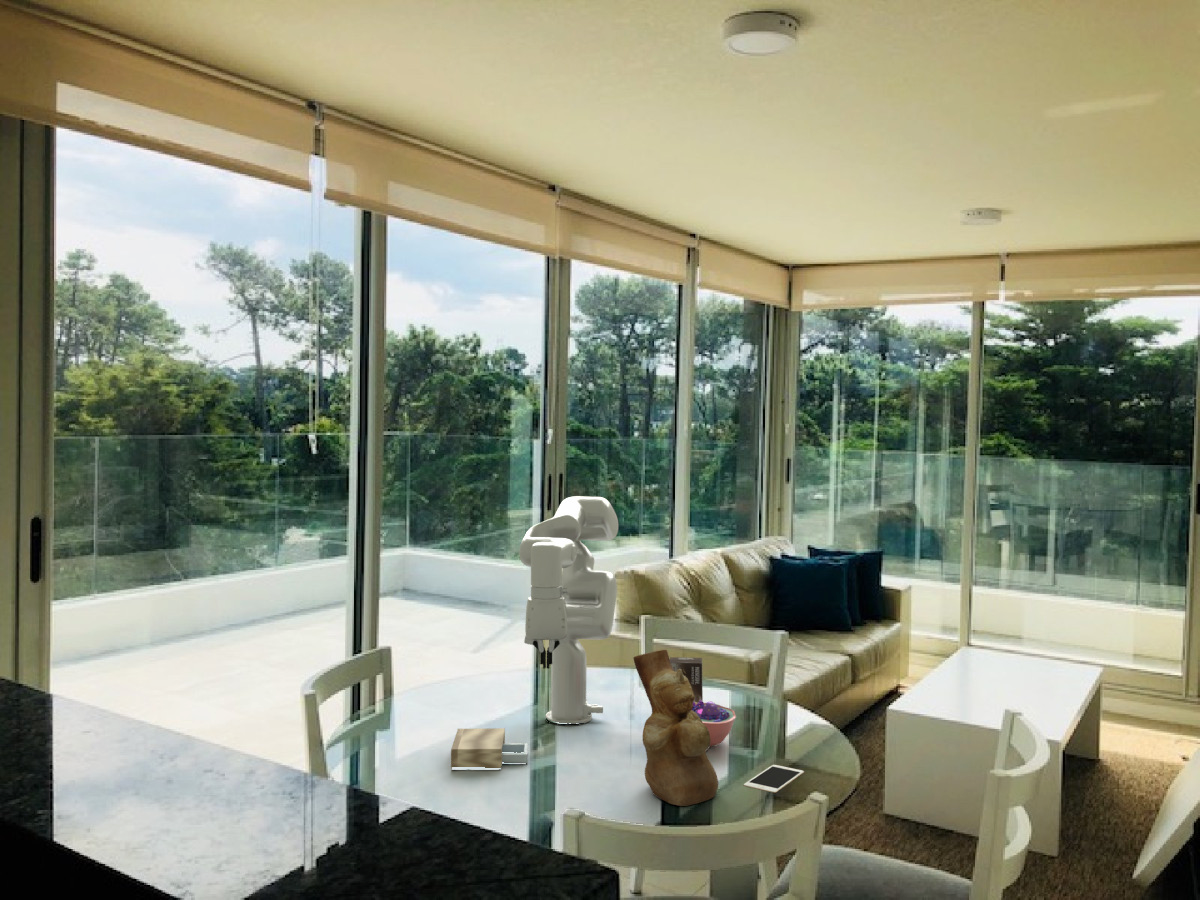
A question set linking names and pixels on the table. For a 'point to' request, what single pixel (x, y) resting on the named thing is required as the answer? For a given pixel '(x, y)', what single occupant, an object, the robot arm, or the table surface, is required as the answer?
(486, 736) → the wooden block
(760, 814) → the table surface
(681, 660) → the coffee box
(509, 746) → the grey shallow tray
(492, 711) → the table surface
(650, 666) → the ceramic vessel
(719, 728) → the cell model
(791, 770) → the cell phone
